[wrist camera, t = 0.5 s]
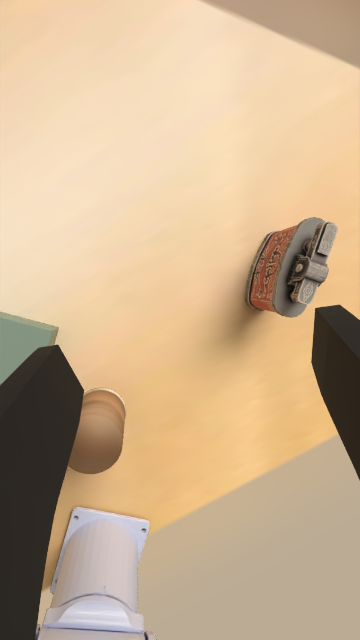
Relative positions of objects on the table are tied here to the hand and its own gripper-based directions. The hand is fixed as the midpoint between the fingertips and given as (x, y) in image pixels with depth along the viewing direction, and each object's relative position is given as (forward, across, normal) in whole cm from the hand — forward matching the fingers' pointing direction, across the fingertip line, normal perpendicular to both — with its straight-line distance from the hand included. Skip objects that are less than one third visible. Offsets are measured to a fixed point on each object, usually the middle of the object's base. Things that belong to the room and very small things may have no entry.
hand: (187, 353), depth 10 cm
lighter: (+23, -6, +12) cm, 26 cm away
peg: (+14, +12, +18) cm, 26 cm away
